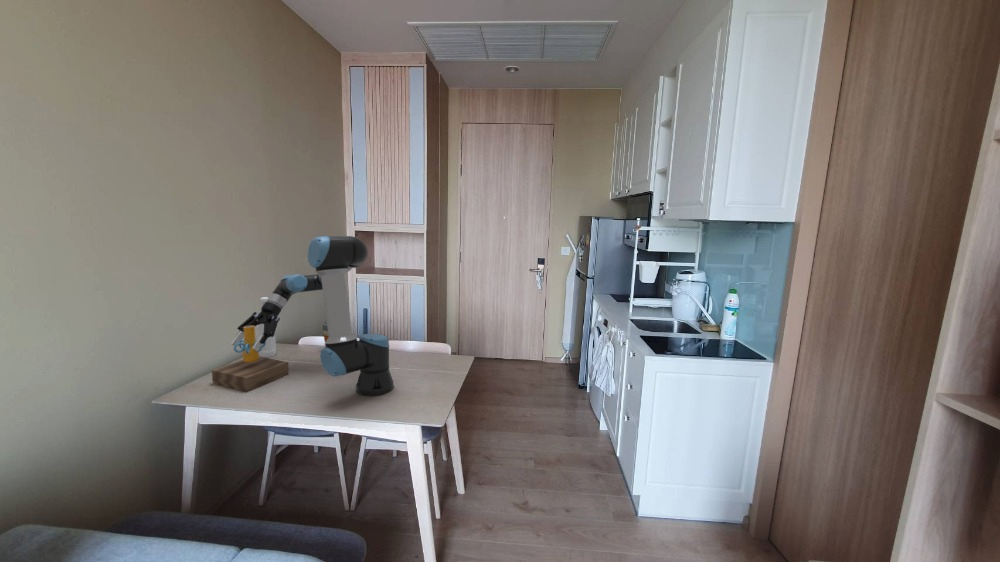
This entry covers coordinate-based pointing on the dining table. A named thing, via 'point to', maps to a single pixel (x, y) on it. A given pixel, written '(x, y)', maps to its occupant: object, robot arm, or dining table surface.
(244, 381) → the walnut block
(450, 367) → the dining table surface
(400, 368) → the dining table surface
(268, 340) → the bottle
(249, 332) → the yellow tube with loops
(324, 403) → the dining table surface
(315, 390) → the dining table surface
